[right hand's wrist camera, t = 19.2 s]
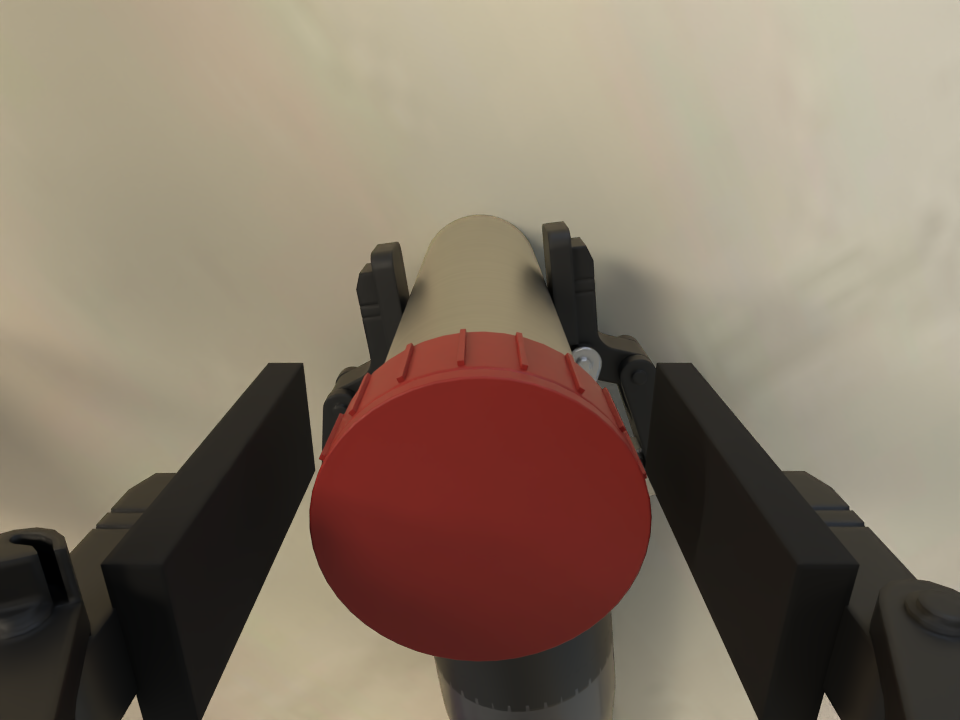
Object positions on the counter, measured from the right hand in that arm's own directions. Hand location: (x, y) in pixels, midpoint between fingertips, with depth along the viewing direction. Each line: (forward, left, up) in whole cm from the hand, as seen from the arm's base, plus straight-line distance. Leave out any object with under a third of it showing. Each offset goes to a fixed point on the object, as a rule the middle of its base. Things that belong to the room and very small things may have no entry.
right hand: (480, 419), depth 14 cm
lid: (0, 0, +4) cm, 4 cm away
